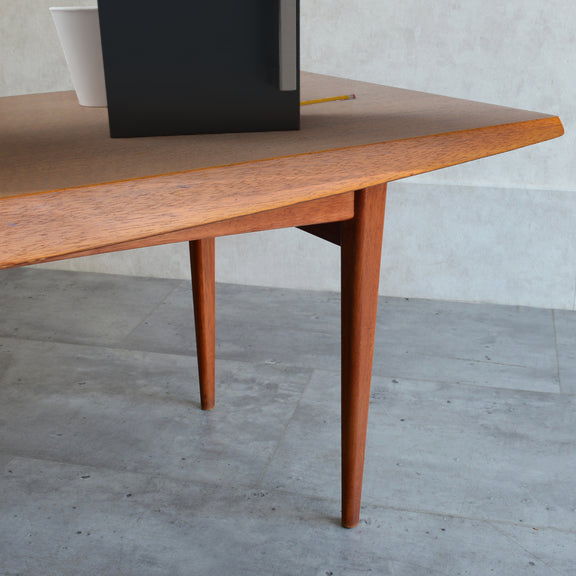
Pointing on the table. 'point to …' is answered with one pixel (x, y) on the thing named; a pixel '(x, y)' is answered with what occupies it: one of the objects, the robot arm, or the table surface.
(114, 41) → the door
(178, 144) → the table surface
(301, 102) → the pencil
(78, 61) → the cup
